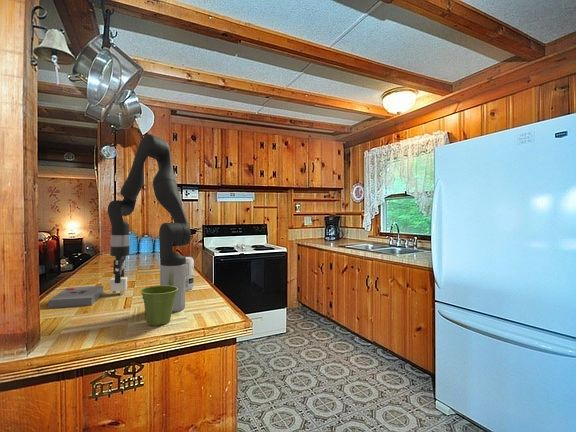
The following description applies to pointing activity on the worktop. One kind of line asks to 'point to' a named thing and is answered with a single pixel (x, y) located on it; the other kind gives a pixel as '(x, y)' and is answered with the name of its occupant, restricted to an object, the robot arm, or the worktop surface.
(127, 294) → the worktop surface
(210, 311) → the worktop surface
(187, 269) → the supplement can
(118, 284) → the plug
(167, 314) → the plant pot
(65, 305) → the socket plate
